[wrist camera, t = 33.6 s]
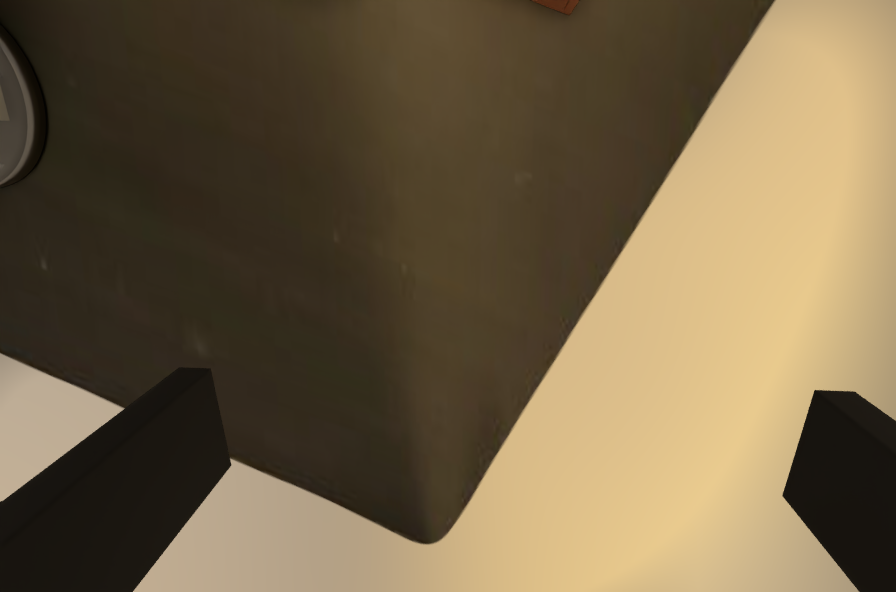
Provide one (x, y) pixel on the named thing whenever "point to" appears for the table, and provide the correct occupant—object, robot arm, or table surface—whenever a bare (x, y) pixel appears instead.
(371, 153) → the table surface
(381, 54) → the table surface
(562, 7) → the red square box
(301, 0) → the table surface
